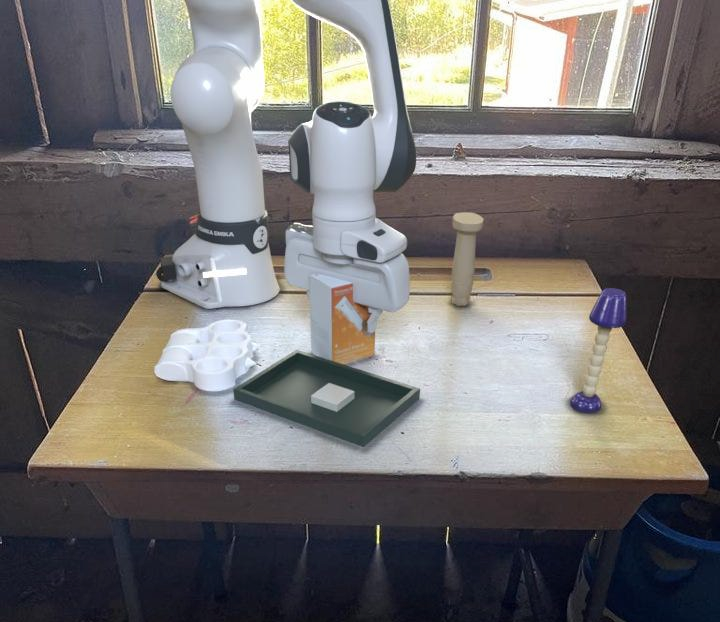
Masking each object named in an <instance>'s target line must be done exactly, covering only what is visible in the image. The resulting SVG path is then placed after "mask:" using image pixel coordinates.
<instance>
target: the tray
mask: <svg viewBox="0 0 720 622" xmlns="http://www.w3.org/2000/svg"><path fill="white" fill-rule="evenodd" d="M328 383H331V384H334V385H337V386H340V387H343V388H346V389H349V390H352V391H354V392H355V398H354V399H353V400H352V401H351V402H349V403H348V404H347V405H345V406H344V407H343V408H342V409H340V410H339V411H338V412H336V411H333V410H330V409H327V408H324V407H321V406H319V405H316V404H313V403H311V395H313V394H314V393H315V392H317V391H318V390H320V389H321V388H322V387H324V386H325V385H327V384H328ZM232 391H233V399H234V400H235V401H237V402H240V403H242V404H245V405H248V406H250V407H253V408H256V409H258V410H261V411H265V412H267V413H270V414H272V415H275V416H277V417H281V418H283V419H286V420H289V421H291V422H294V423H296V424H298V425H299V424H300V425H302V426H305V427H308V428H310V429H312V430H315V431H318V432H320V433H324V434H326V435H329V436H332V437H335V438H337V439H340V440H342V441H345V442H348V443H351V444H353V445H356V446H359V447H362V448H365V447H366V446H367V445H369V443H370V442H372V441H373V440H374V439H375V438H376V437H377V436H379V435H380V434H381V433H382V432H383V431H384V430H386V429H387V428H388V427H389V426H390V425H391V424H393V423H394V422H395V421H396V420H397V419H398V418H399V417H401V416H402V415H403V414H404V413H405V412H406V411H407V410H409V409H410V408H411V407H412V406H413V405H415V404H416V403H417V402H418V401H419V400H420V398H421V397H420V396H421V388H420V387H416V386H413V385H410V384H407V383H404V382H401V381H397V380H394V379H392V378H388V377H386V376H385V377H384V376H381V375H378V374H375V373H372V372H369V371H366V370H363V369H359V368H356V367H353V366H349V365H347V364H345V363H344V364H340V363H337V362H334V361H331V360H328V359H325V358H321V357H318V356H316V355H315V354H313V353H309V352H307V351H306V352H305V351H302V350H300V349H295V350H294V351H292V352H290V353H289V354H287V355H285V356H284V357H282V358H281V359H279V360H278V361H276V362H274V363H273V364H271V365H270V366H268V367H266V368H265V369H263V370H262V371H260V372H258V373H257V374H255V375H253V376H252V377H251V378H249V379H247V380H246V381H243V383H241V384H239V385H237V386H236V387H234V388H233V389H232Z"/></svg>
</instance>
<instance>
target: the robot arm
mask: <svg viewBox="0 0 720 622" xmlns="http://www.w3.org/2000/svg"><path fill="white" fill-rule="evenodd" d="M290 1H291V2H292V3H293V4H294V5H295V6H296V8H299V9H300V10H301V11H303V12H304V13H305V14H307V15H309V16H311V17H313V18H315V19H317V20H319V21H322V22H324V23H327V24H329V25H331V26H334V27H336V28H338V29H340V30H341V31H344V32H345V33H347V34H348V35H350V36H351V37H352V38H353V39H354V40H355V41H356V42H357V43H358V45H359V46H360V48H361V50H362V53H363V55H364V60H365V61H364V62H365V64H366V72H367V76H368V77H367V78H368V83H369V89H370V94H371V100H372V106H373V115H372V114H371V112H370V111H369V109H367V108H366V107H365V106H363V105H361V104H358V103H354V102H351V101H345V100H336V101H330V102H329V101H328V102H325V103H322V104H321V105H319V106H318V107H316V108H315V109H314V111H313V114H312V119H311V120H310V121H308V122H304V123H301V124H299V125H298V126H297V127H296V129H294V131H293V132H292V134H291V135H290V136H289V138H288V140H287V144H288V145H287V146H288V159H289V178H290V181H291V182H292V183H293V184H294V185H296V186H297V187H298V188H299V189H301V190H302V191H303V192H305V193H306V194H308V195H309V194H313V205H312V210H311V217H312V218H311V219H312V225H306V224H302V223H299V222H294V223H293V224H292V225H289V226H288V227H287V229H286V230H285V232H284V233H285V245H286V246H285V251H284V262H283V263H284V265H283V268H284V269H283V273H284V274H283V275H284V280H285V281H286V283H287V285H288V286H291V287H294V288H297V289H301V290H306V297H307V299H308V301H309V302H310V288H309V275H311V274H320V275H325V276H329V277H333V278H337V279H341V280H344V281H348V282H351V283H353V302H354V303H358V304H362V305H366V306H368V312H369V313H372V314H371V316H370V317H368V318H366V319H365V320H363V321H362V326H363V328H362V331H364V332H367V333H371V334H372V333H373V332H375V333H376V331H377V322H378V319H379V318H380V316H381V315H382V313H383V312H384V311H385V312H387V313H396V312H398V311H399V310H401V309H402V308H404V307H405V306H406V305H407V304H408V302H409V300H410V291H411V285H410V284H411V283H410V282H411V281H410V278H411V277H410V276H411V275H410V267H409V266H410V265H409V262H408V259H407V257H406V256H405V255H404V254H403V252H404V251H405V250H407V247H408V239H407V237H406V235H404V234H403V233H401V232H400V231H398V230H396V229H394V228H393V227H391V226H389V225H388V224H386V223H385V222H384V221H382V220H381V219H379V218H378V217H377V216H376V215H377V213H376V211H377V210H376V204H375V200H374V193H375V192H377V193H378V192H379V193H380V192H381V193H395V192H397V191H399V190H400V189H401V188H402V187H403V186H404V185H405V184H407V182H408V181H409V180H410V178H411V177H412V176H413V175H414V173H415V170H416V167H417V149H416V142H415V137H414V134H413V129H412V125H411V121H410V118H409V112H408V107H407V101H406V95H405V88H404V82H403V76H402V69H401V62H400V58H399V57H400V56H399V50H398V44H397V38H396V32H395V31H396V30H395V26H394V20H393V15H392V10H391V5H390V1H389V0H290ZM184 2H185V5H186V8H187V13H188V16H189V23H190V28H191V35H192V41H193V42H192V43H193V54H191V55H189V56H188V57H187V58H185V59H184V60H183V61H182V62H181V64H180V65H179V67H178V68H177V70H176V72H175V74H174V76H173V78H172V81H171V85H170V102H171V105H172V108H173V111H174V113H175V115H176V117H177V118H178V120H179V121H180V122H181V125H182V129H183V133H184V136H185V140H186V143H187V146H188V149H189V152H190V155H191V159H192V163H193V168H194V173H195V182H196V189H197V195H198V196H197V197H198V205H199V212H198V214H195V215H192V216H190V217H189V219H192V220H191V221H190V222H189V224H191V225H192V224H195V223H196V226H195V231H194V234H193V235H192V236H191V237H189V238H188V239H187V240H186V241H185V242H184V243H183V244H182V245H180V246H179V247H178V248H177V249H176V250H175V251H174V253H173V255H170V256H161V257H159V263H160V266H159V267H158V268H157V270H156V272H155V276H156V278H157V279H158V280H159V281H160V283H161V284H160V287H161V288H162V289H163V290H166V291H168V292H170V293H172V294H173V295H176V296H179V297H181V298H182V299H185V300H186V301H189V302H190V303H193V304H195V305H197V306H199V307H201V308H202V309H207V310H213V309H219V308H227V307H228V308H231V307H232V308H233V307H247V306H254V305H258V304H262V303H265V302H267V301H270V300H272V299H274V298H275V297H276V296H278V294H279V293H280V290H281V289H280V285H279V284H278V279H277V276H276V272H275V269H274V265H273V260H272V259H273V258H272V254H271V249H270V244H269V238H270V224H269V222H270V221H269V215H268V211H267V210H266V207H265V206H266V203H265V192H264V190H265V189H264V175H263V166H262V165H263V164H262V161H261V159H260V157H259V153H258V149H257V146H256V142H255V136H254V133H253V127H252V113H253V111H254V110H255V109H256V108H257V107H258V106H259V104H260V102H261V101H262V97H263V95H264V90H265V72H264V54H263V50H264V49H263V35H262V25H261V13H260V11H261V10H260V0H184Z"/></svg>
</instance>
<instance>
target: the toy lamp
mask: <svg viewBox="0 0 720 622" xmlns="http://www.w3.org/2000/svg"><path fill="white" fill-rule="evenodd" d="M588 320H589V321H590V322H591V323H592V324H593V325H596V326H597V332H596V334H595V336H594V341H595V342H594V343H593V345H592V352H591V354H590V357H589V365H588V366H587V371H586V373H587V374H586V376H585V378H584V385H583V387H582V391H579V392H576V393H575V394H574V395H573V396H572V397H571V400H570V401H569V404H570V406H571V407H572V409H574V410H576V411H577V412H581V413H587V414H592V413H593V414H594V413H598V412H600V410H602V400H601V397H600V396H598V395H597V394H596V393H597V385H598V384H599V381H600V374H601V373H602V370H603V369H602V367H603V366H602V365H603V363H604V360H605V354H606V352H607V348H608V345H607V344H608V343H609V341H610V333H611V332H612V330H613V329H620V328H622V327H624V326H625V325H626V323H627V294H626V292H625V291H624V290H622V289H618V288H613V287H612V288H611V287H608V288H604V289H602V291H601V292H600V294H599V295H598V297H597V299H596V301H595V303H594V305H593V306H592V309H591V311H590V312H589V316H588Z"/></svg>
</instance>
